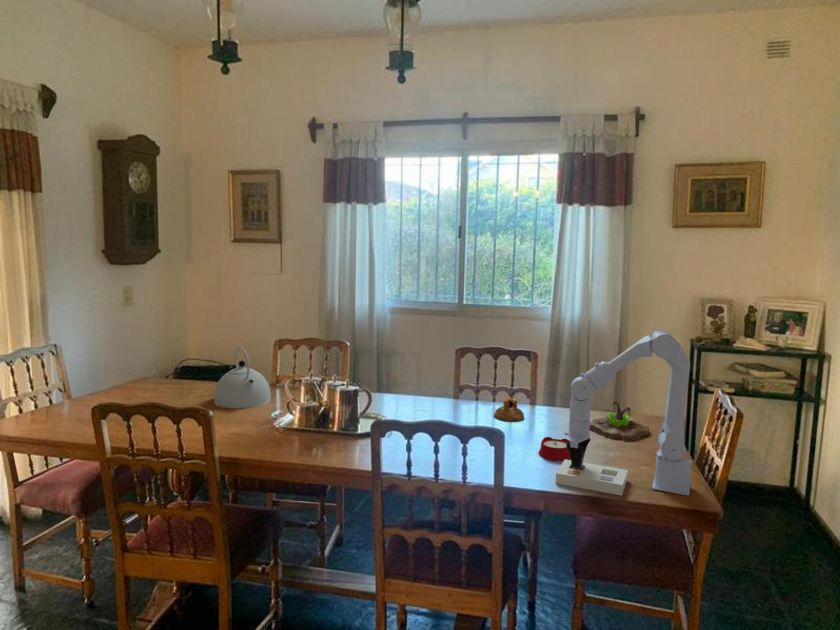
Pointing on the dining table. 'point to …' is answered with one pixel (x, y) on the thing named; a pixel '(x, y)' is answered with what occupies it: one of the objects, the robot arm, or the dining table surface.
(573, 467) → the plug
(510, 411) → the brown pouch
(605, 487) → the socket block
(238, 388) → the kettle
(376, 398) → the dining table surface
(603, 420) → the plant
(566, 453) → the alarm clock
